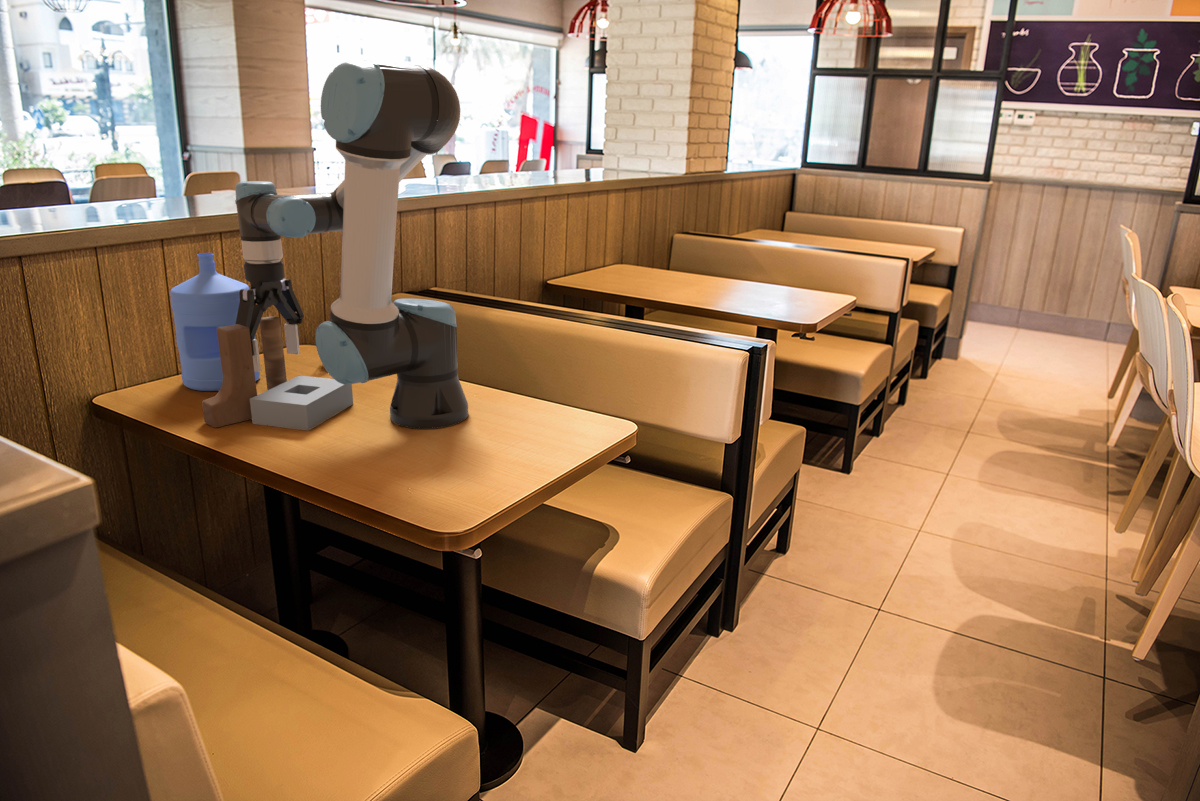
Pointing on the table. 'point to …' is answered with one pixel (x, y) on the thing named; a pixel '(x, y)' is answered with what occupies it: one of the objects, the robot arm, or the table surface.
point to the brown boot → (233, 379)
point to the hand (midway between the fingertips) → (274, 361)
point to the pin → (273, 351)
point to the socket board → (301, 402)
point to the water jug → (204, 323)
